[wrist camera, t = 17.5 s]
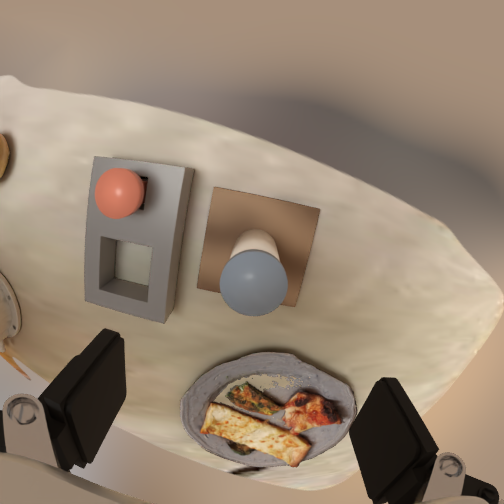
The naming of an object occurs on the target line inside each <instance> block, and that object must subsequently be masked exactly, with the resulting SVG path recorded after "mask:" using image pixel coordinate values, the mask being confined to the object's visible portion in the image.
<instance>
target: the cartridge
mask: <svg viewBox="0 0 504 504" xmlns="http://www.w3.org/2000/svg"><path fill="white" fill-rule="evenodd" d="M287 289H288V280H287V276H286V272H285V269H284V267H283V265H282V264H281V262H280V259H279V255H278V251H277V247H276V243H275V241H274V239H273V238H272V236H271V235H270V234H268V233H267V232H265V231H263V230H260V229H251V230H248V231H245V232H243V233H242V234H241V235H240V236H239V237H238V238H237V240H236V242H235V245H234V248H233V251H232V253H231V256H230V259H229V261H228V262H227V263H226V265H225V266H224V269H223V271H222V274H221V278H220V291H221V295H222V297H223V299H224V300H225V302H226V303H227V304H228V306H229V307H231V308H232V309H233V310H235V311H236V312H238V313H240V314H243V315H247V316H261V315H265V314H268V313H270V312H272V311H273V310H275V309H276V308H277V307H278V306H279V305H280V304H281V303H282V302H283V300H284V298H285V296H286V293H287Z"/></svg>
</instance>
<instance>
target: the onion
mask: <svg viewBox="0 0 504 504" xmlns="http://www.w3.org/2000/svg"><path fill="white" fill-rule="evenodd" d="M9 154H10V150H9V148H8V145H7V142H6V140H5V138H4V137H3V135H2V134H0V178H1V176H2V175H3V173H4V171H5V169H6V166H7V163H8V160H9V159H8V157H9Z"/></svg>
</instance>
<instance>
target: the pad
mask: <svg viewBox="0 0 504 504" xmlns="http://www.w3.org/2000/svg"><path fill="white" fill-rule="evenodd" d="M319 212H320V209H318V208H313V207H309V206H305V205H300V204H296V203H292V202H287V201H282V200H278V199H273V198H268V197H264V196H259V195H254V194H249V193H244V192H239V191H234V190H228V189H223V188H218V187H214V189H213V194H212V199H211V205H210V210H209V216H208V222H207V227H206V233H205V239H204V245H203V251H202V257H201V264H200V270H199V277H198V283H197V288H199V289H204V290H208V291H213V292H218V293H221V291H220V278H221V274H222V271H223V269H224V266H225V265H226V263H227V262H228V261H229V259H230V256H231V253H232V251H233V248H234V245H235V242H236V240H237V238H238V237H239V236H240V235H241V234H242V233H243V232H245V231H248V230H251V229H260V230H263V231H265V232H267V233H268V234H270V235H271V236H272V238H273V239H274V241H275V243H276V247H277V251H278V255H279V259H280V262H281V264H282V265H283V267H284V269H285V272H286V276H287V280H288V289H287V293H286V296H285V298H284V300H283V302H282V303H281V304H280V305H286V306H291V307H295V305H296V302H297V298H298V294H299V291H300V287H301V284H302V280H303V276H304V272H305V269H306V265H307V261H308V257H309V253H310V249H311V245H312V241H313V237H314V233H315V229H316V225H317V220H318V216H319Z"/></svg>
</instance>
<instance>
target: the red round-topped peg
mask: <svg viewBox="0 0 504 504" xmlns="http://www.w3.org/2000/svg"><path fill="white" fill-rule="evenodd" d="M147 184H148V180H143V179H141V178H140V177H139V176H138V174H137V173H135V172H134V171H132V170H130V169H126V168H113V169H110V170H108V171H106V172H105V173H103V174H102V175H101V177H100V178H99V180H98V182H97V184H96V187H95V201H96V204H97V206H98V208H99V210H100V211H101V212H102V213H103V214H104V215H105V216H107V217H109V218H112V219H120V218H124V217H127V216H130V215H132V214H133V213H135V212H136V211H137V210H138V209H139V207H140V206H141V204H143V203H145V197H146V190H147Z"/></svg>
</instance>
